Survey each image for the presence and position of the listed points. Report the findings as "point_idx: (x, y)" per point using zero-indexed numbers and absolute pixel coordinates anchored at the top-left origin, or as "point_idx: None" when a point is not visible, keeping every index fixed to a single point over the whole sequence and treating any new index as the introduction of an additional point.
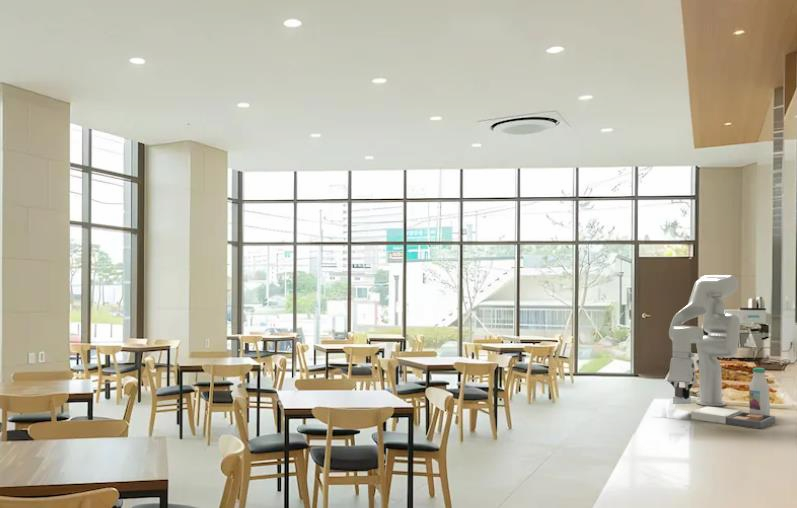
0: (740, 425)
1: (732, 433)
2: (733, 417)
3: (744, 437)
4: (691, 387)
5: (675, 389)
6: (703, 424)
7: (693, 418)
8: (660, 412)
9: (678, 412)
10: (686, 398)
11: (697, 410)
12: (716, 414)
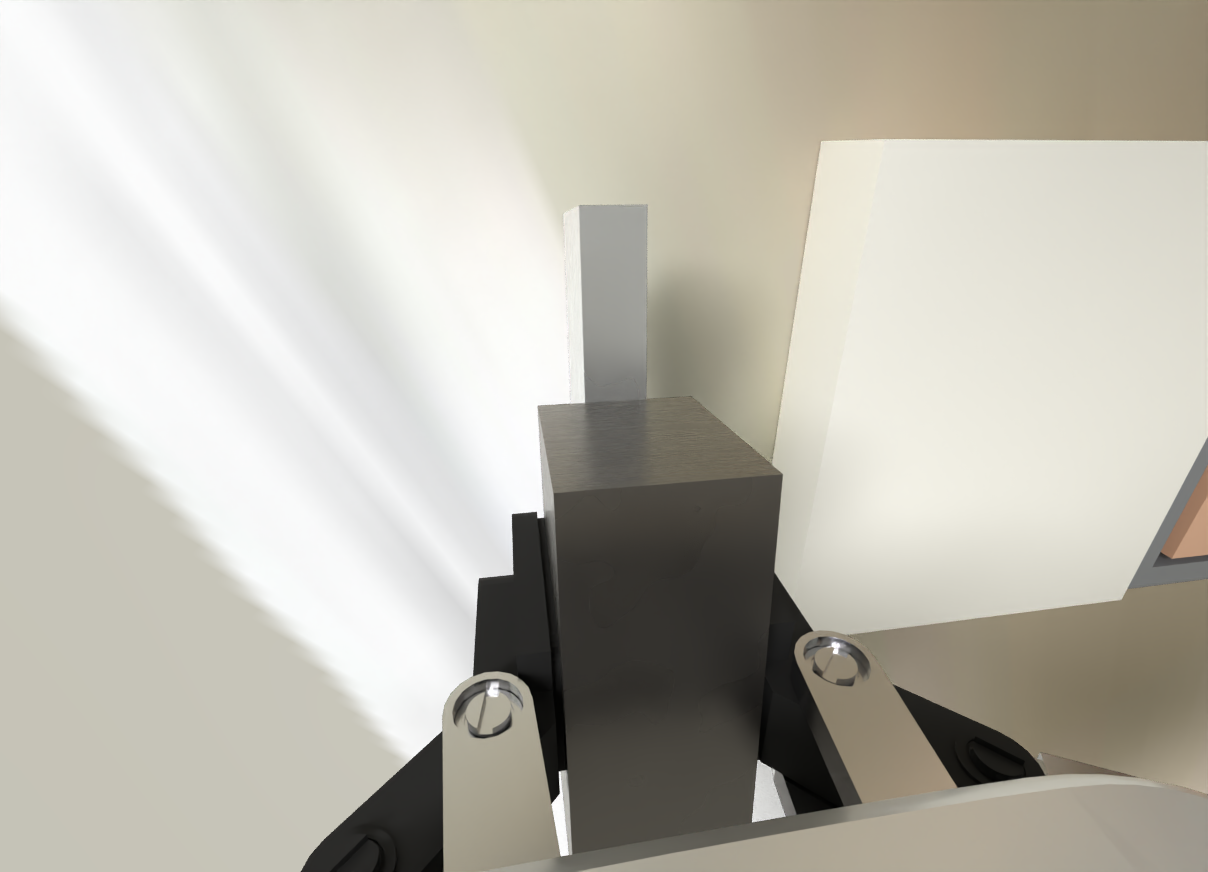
0: None
1: (1086, 750)
2: (1183, 541)
3: (1143, 774)
4: (916, 695)
5: None
6: (893, 683)
7: None
8: (331, 536)
9: (491, 379)
10: None
11: (831, 546)
12: (1041, 587)
